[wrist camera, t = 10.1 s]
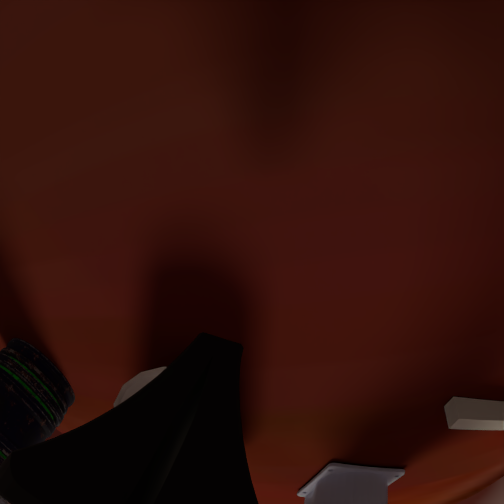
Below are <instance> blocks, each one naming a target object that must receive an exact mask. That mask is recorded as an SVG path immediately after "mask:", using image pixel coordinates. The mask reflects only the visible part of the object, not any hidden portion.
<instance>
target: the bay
mask: <svg viewBox="0 0 504 504" xmlns="http://www.w3.org/2000/svg"><path fill="white" fill-rule="evenodd" d="M444 409H445V413H446V418H447V423H448V428H449V429H466V430H504V401H492V400H481V399H471V398H462V397H454V396H453V397H452V399H451V400H450V401H449V402H448V403H447V404H446V405H445V406H444Z"/></svg>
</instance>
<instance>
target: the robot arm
mask: <svg viewBox="0 0 504 504" xmlns="http://www.w3.org/2000/svg"><path fill="white" fill-rule="evenodd" d="M242 352H243V346H242V345H241V344H239V343H236V342H232V341H229V340H226V339H223V338H219V337H216V336H213V335H210V334H207V333H204V332H202V333H200V334H199V335H198V336H197V337H196V338H195V339H194V341H193V342H192V343H191V344H190V345H189V346H188V347H187V348H186V349H185V350H184V351H183V352H182V353H181V354H180V355H179V356H178V357H177V358H176V359H175V360H174V361H173V362H172V363H171V364H170V365H169V366H168V367H167V368H166V369H164V370H163V371H162V372H161V373H160V374H159V375H158V376H157V377H155V378H154V379H153V380H152V381H150V382H149V383H148V384H147V385H145V386H144V387H143V388H141V389H140V390H139V391H138V392H136V393H135V394H134V395H132V396H131V397H129V398H128V399H126V400H125V401H124V402H122V403H121V404H119V405H117V406H116V407H114V408H113V409H111V410H109V411H108V412H106V413H104V414H103V415H101V416H99V417H97V418H95V419H94V420H92V421H90V422H88V423H86V424H84V425H82V426H80V427H78V428H76V429H73V430H71V431H69V432H67V433H64V434H62V435H59V436H57V437H55V438H52V439H50V440H47V441H44V442H41V443H38V444H35V445H31V446H28V447H25V448H21V449H18V450H14V451H12V452H11V454H10V455H9V456H8V457H7V458H6V459H5V460H4V461H3V462H2V464H1V465H0V495H1V496H2V497H3V498H4V499H6V500H7V501H8V502H9V503H11V504H258V501H257V498H256V494H255V491H254V488H253V484H252V481H251V476H250V472H249V468H248V463H247V458H246V453H245V448H244V442H243V435H242V426H241V417H240V400H239V374H240V362H241V356H242ZM404 474H405V470H404V469H392V468H378V467H366V466H357V465H348V464H341V463H330V464H328V465H327V466H326V467H325V468H324V469H323V470H322V471H321V472H320V473H318V474H317V475H316V476H315V477H314V478H313V479H312V480H311V481H310V482H308V483H307V484H306V485H305V486H304V487H303V488H302V489H300V490H299V491H298V492H297V495H298V496H301V497H305V502H304V504H387V502H388V485H390V484H391V483H392V482H394V481H395V480H397V479H398V478H400V477H401V476H402V475H404ZM3 498H1V497H0V504H9V503H7V502H6V501H5V500H4V499H3Z"/></svg>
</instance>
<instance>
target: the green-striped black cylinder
mask: <svg viewBox="0 0 504 504" xmlns="http://www.w3.org/2000/svg"><path fill="white" fill-rule="evenodd" d="M74 400H75V395H74V392H73V390H72V388H71V386H70V384H69V383H68V381H67V380H66V378H65V377H64V376H63V375H62V373H61V372H60V371H59V370H58V369H57V368H56V366H55V365H54V364H53V363H52V362H51V361H50V360H49V359H48V358H47V357H46V356H44V355H43V354H42V353H41V352H40V351H39V350H37V349H36V348H35V347H33V346H32V345H30V344H29V343H27V342H25V341H23V340H21V339H18V338H13V339H12V340H11V341H10V342H9V343H8V344H7V347H6V348H3V349H2V350H1V351H0V465H1V464H2V462H3V461H4V460H5V459H6V458H7V457H8V456H9V455H10V454H11V452H12V451H14V450H18V449H21V448H25V447H28V446H31V445H35V444H38V443H41V442H44V441H45V439H46V438H48V437H50V436H51V435H52V433H53V432H54V430H55V429H56V427H58V426H59V424H60V423H61V422H62V420H63V418H64V415H65V414H66V412H67V408H68V407H69V406H71V405H72V404H73V402H74ZM0 497H1V498H3V497H2V496H1V495H0ZM3 499H4V498H3ZM4 500H5V501H7V500H6V499H4ZM7 502H8V501H7Z"/></svg>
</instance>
